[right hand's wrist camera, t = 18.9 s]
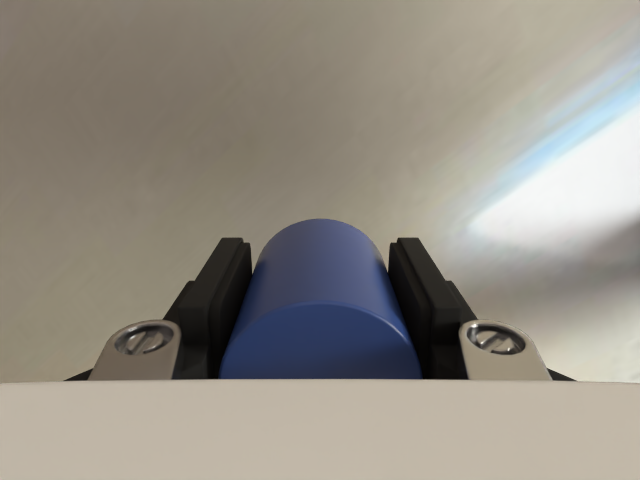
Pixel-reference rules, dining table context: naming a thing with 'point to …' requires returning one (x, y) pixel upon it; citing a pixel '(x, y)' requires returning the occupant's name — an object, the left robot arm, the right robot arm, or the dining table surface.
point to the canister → (320, 311)
